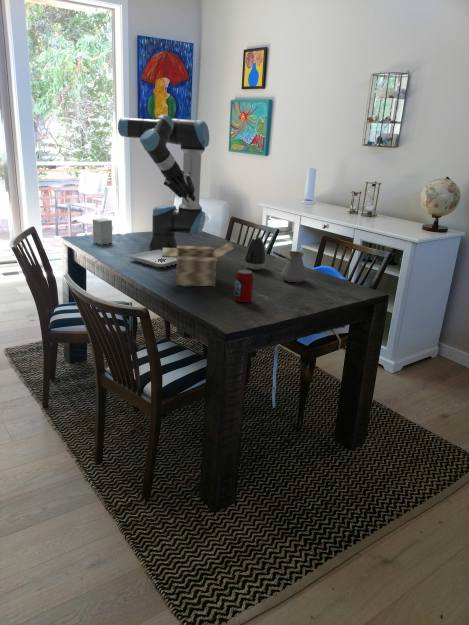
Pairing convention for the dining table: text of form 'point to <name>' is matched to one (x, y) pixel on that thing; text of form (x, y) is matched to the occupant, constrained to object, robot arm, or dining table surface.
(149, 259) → the salad plate
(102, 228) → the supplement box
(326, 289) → the dining table surface
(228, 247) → the carton flap
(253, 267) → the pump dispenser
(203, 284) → the carton
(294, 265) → the coffee pot
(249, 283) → the beverage can
